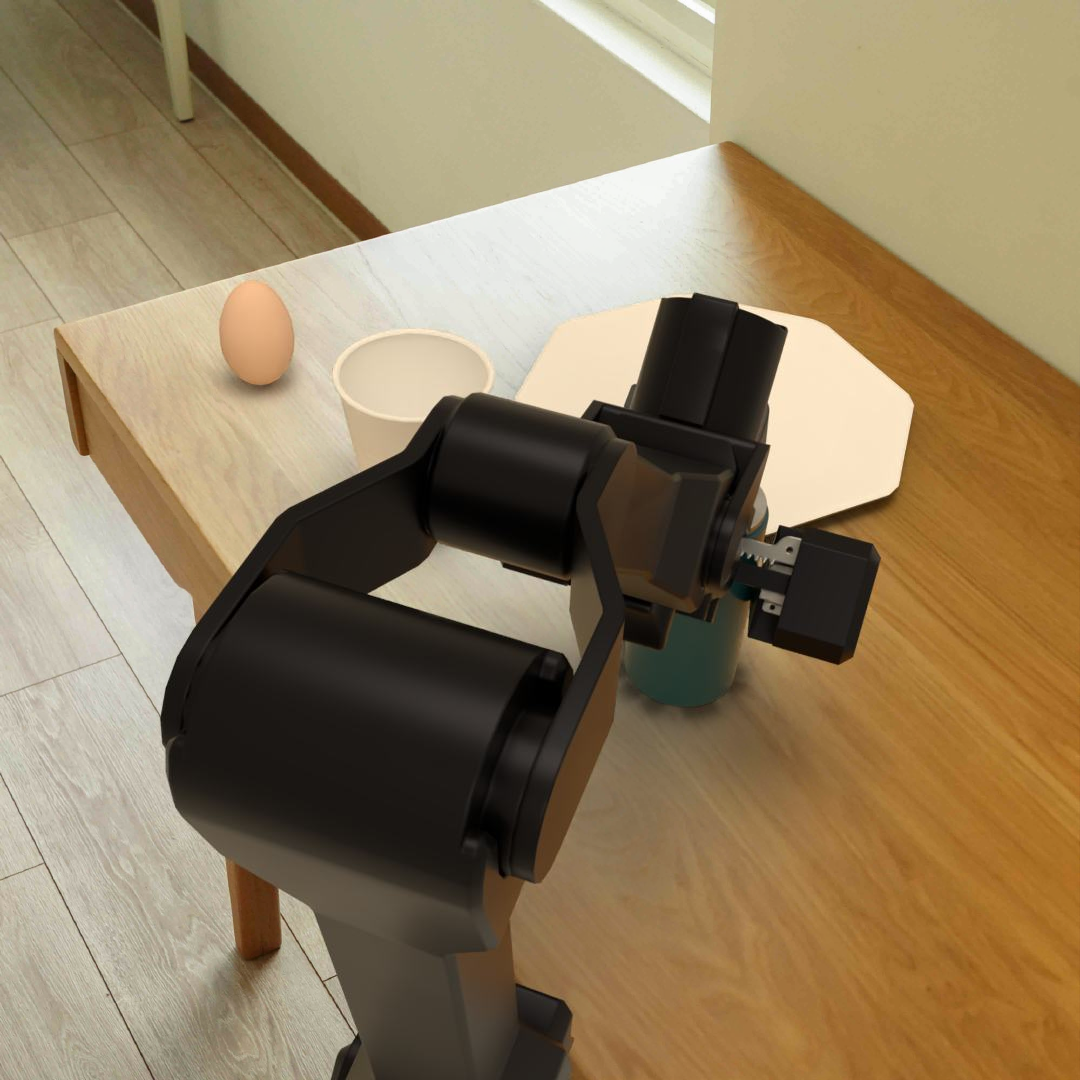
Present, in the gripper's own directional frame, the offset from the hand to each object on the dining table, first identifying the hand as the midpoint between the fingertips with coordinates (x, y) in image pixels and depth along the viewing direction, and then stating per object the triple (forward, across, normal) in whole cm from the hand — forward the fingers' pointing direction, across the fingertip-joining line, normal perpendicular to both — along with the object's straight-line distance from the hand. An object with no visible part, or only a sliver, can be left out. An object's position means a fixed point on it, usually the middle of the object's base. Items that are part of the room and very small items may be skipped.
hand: (699, 569), depth 77 cm
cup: (+9, +20, +1) cm, 22 cm away
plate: (+22, +4, -12) cm, 25 cm away
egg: (+15, +36, -5) cm, 40 cm away
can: (+4, 0, +6) cm, 7 cm away
